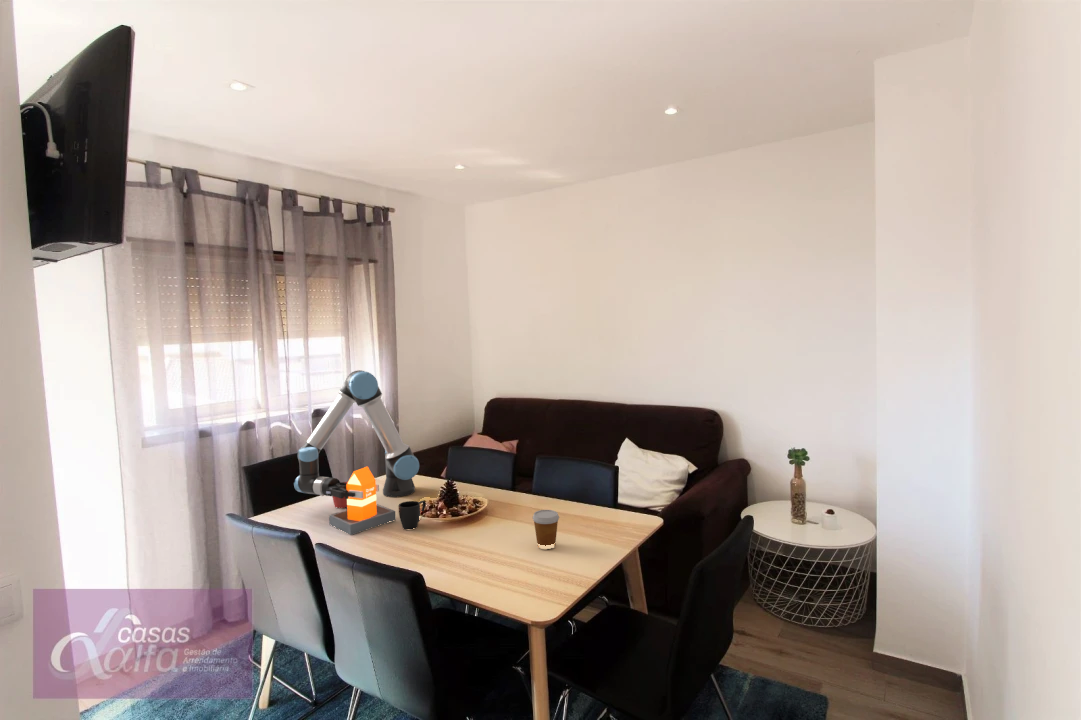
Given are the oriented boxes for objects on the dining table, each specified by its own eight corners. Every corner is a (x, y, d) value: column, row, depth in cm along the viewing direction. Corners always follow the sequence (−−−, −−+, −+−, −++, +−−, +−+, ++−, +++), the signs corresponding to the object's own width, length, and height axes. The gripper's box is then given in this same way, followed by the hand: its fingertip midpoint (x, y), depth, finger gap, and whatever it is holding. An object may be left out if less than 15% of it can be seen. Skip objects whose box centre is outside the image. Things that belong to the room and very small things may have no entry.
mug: (432, 523, 213) (431, 500, 212) (408, 533, 203) (407, 508, 203) (419, 519, 218) (418, 497, 217) (395, 528, 209) (394, 504, 208)
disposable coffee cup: (540, 554, 181) (540, 520, 181) (528, 544, 190) (527, 512, 189) (564, 548, 186) (564, 515, 185) (551, 539, 194) (551, 507, 193)
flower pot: (347, 500, 246) (346, 480, 245) (361, 504, 239) (360, 483, 239) (326, 506, 237) (325, 485, 236) (340, 511, 231) (339, 489, 230)
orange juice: (347, 519, 213) (345, 470, 212) (362, 512, 221) (360, 465, 220) (363, 521, 210) (361, 472, 209) (377, 514, 218) (375, 466, 217)
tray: (373, 511, 229) (373, 502, 229) (395, 520, 218) (395, 510, 217) (329, 525, 214) (329, 515, 214) (350, 535, 203) (350, 524, 202)
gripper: (345, 488, 232) (387, 492, 224) (307, 503, 212) (352, 508, 203) (345, 471, 231) (387, 475, 223) (307, 484, 211) (351, 489, 203)
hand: (370, 491), depth 213 cm, fingers closed on orange juice, 9 cm apart
